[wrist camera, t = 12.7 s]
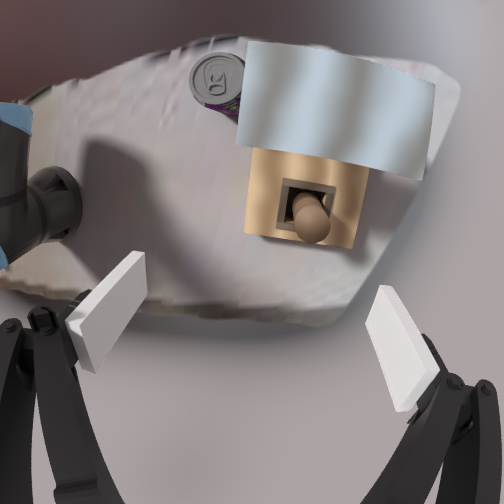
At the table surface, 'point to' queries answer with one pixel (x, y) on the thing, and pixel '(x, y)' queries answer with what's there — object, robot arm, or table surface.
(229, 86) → the beverage can
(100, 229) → the table surface
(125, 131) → the table surface
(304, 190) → the peg
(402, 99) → the socket station
